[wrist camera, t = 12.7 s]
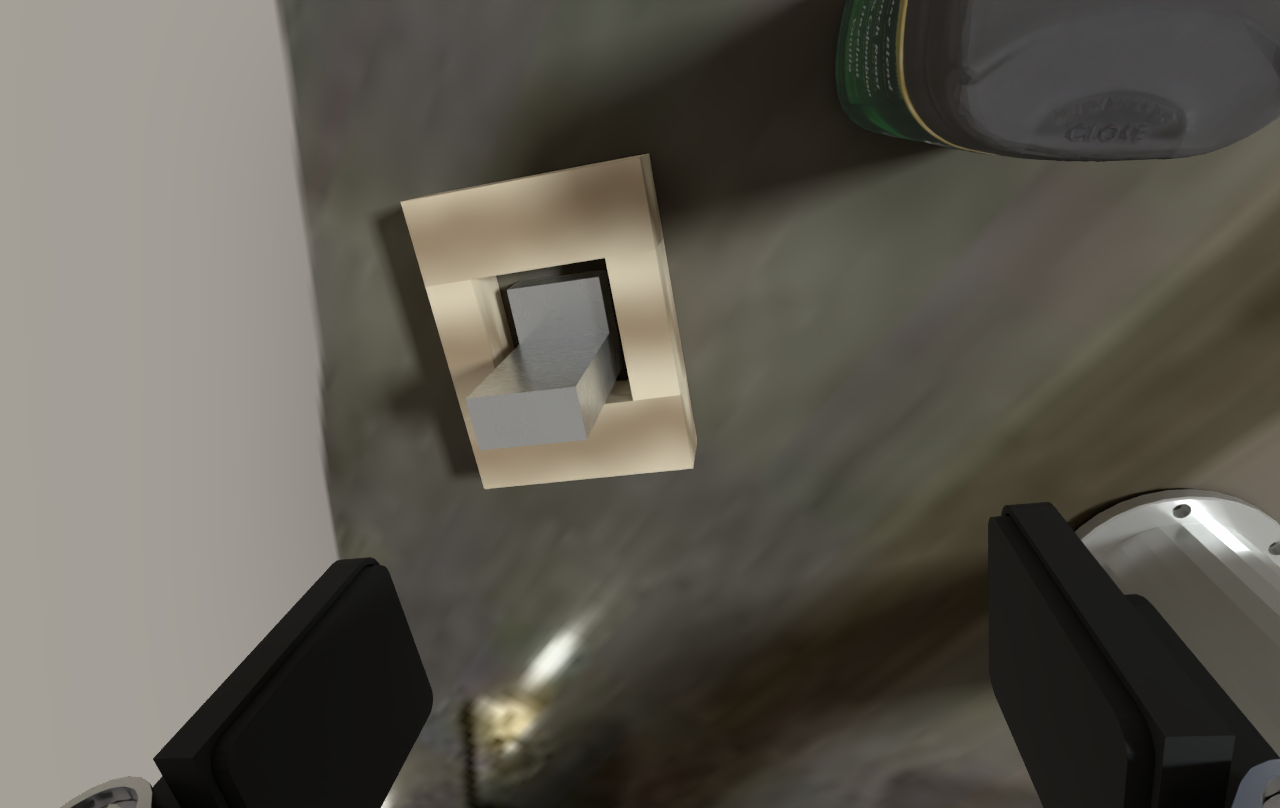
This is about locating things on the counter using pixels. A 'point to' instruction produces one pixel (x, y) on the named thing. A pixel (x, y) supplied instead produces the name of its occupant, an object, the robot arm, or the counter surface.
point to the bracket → (551, 364)
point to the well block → (550, 236)
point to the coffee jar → (1062, 74)
